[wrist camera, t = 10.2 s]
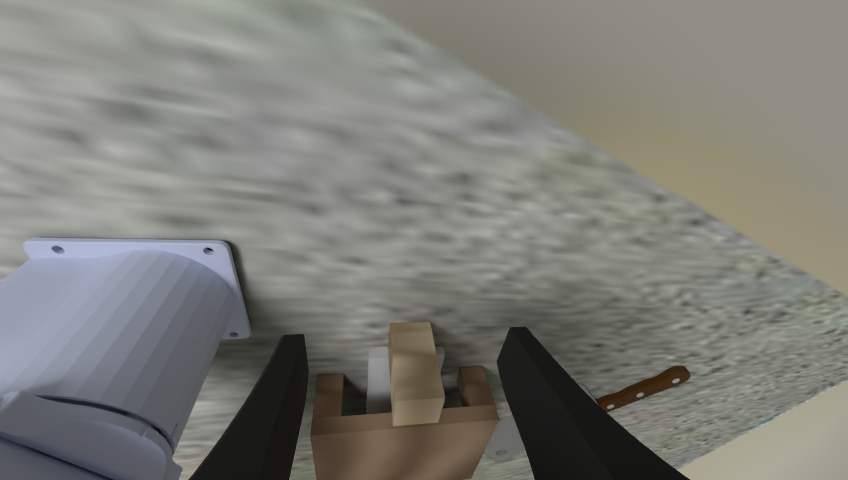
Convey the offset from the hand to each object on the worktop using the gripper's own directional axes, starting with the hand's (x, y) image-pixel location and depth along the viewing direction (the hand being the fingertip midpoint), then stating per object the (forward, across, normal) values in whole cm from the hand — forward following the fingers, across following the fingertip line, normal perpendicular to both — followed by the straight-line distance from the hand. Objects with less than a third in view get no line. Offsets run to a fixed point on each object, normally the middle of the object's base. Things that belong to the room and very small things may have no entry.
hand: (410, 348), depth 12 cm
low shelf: (+9, -2, +21) cm, 23 cm away
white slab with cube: (+9, -2, +18) cm, 20 cm away
